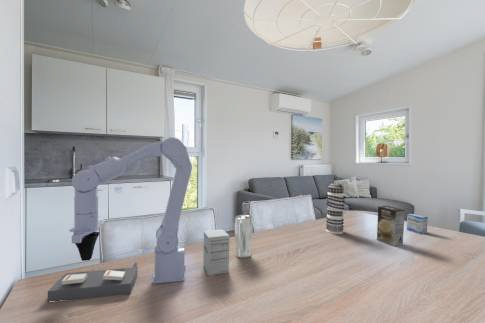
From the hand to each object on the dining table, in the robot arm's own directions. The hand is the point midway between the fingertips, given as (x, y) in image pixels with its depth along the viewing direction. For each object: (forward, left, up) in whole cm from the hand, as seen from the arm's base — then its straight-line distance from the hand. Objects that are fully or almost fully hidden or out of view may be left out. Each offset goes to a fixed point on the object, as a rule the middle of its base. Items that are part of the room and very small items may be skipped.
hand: (86, 259), depth 70 cm
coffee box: (-120, -16, -9) cm, 121 cm away
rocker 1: (+2, +2, -4) cm, 5 cm away
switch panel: (-3, -4, -9) cm, 10 cm away
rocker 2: (-8, +2, -4) cm, 9 cm away
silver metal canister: (-50, -15, -9) cm, 53 cm away
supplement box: (-38, -5, -9) cm, 39 cm away
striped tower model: (-104, -35, -9) cm, 110 cm away
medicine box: (-148, -27, -9) cm, 150 cm away
